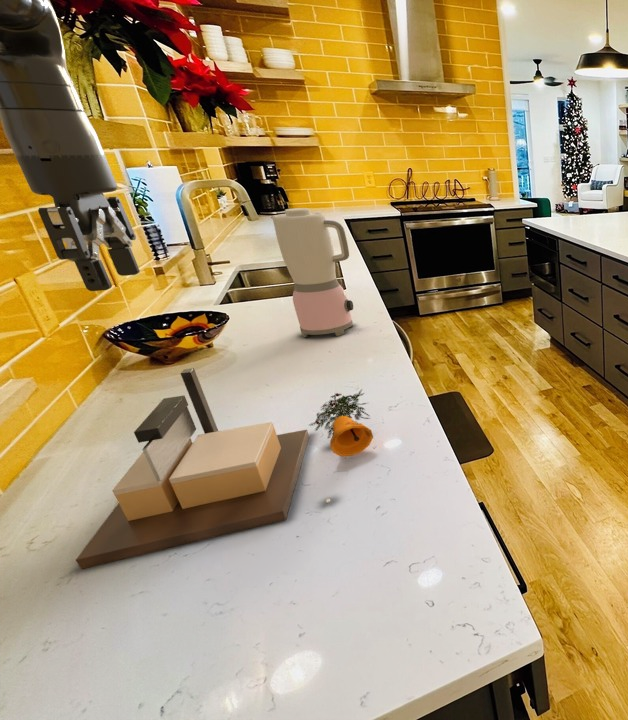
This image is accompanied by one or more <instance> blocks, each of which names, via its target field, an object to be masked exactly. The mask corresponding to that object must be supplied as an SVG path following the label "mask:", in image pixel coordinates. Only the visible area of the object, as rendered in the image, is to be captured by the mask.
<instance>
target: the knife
mask: <svg viewBox="0 0 628 720" xmlns="http://www.w3.org/2000/svg"><path fill="white" fill-rule="evenodd" d="M188 406H189V402H188V401H187V398H186V395H177V396H171V397H164V398H163V399H162V400H161V401H160V402H159V403H158V404H157V405H156V406H155V408H154V409H153V410H152V411H151V412H150V413H149V414H148V416H147V417H146V418H145V419H144V420H143V421H142V423H140V424H139V425H138V427H137V428H136V429H135V430H134V431H133V434H134V436H135V437H136V440H137V442H138V444H140V443H145V442H146V444H145V445H144V446H143V448H142V449H141V450H142V453H143V452H144V454H145V456H146V458H147V461H148V463H149V465H150V467H151V469H152V471H153V473H154V475H155V478H156V480H157V482H158V481H161V480H162V479H163V477H164V476H165V474H166V473H167V472H168V470H169V469H170V467H171V466H172V464H173V463H174V461H175V460H176V458H177V457H178V455H179V454H180V452H181V451H182V449H183V448H184V447H185V445H186V444H187V442H188V441H189V439H190V438H191V439H192V436H193V435H194V434H195V432H196V430H197V426H196V425H195V422H194V419H193V416H192V415H191V412H190V410H189V408H188Z"/></svg>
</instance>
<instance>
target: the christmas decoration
mask: <svg viewBox="0 0 628 720" xmlns="http://www.w3.org/2000/svg"><path fill="white" fill-rule="evenodd" d="M362 391H363V387H362V388H361V389H360V390H359V392H358V393H354V394H353V395H352V394H351V395H350V394H349V395H342V394H341V393H338V392H336V393H334V395H331V396H330V398H332V399H330V400H328V401H326V402H325V403H324V404H322V406H321V408H320V411H322V412H317V413H316V415H315V416H316V419H315V421H314V422H311V423H309V424H308V426H309V427H313V426H315V425H316V427H315V429H314V431H315V432H317V431H318V430H319V429H320V428H321V429H322V427H323V428H324V430H325V431H327V434H328V436H327V440H328V439H330V440H329V445H330V448H331V451H332V453H333V454H335V455H337V456H338V457H352V456H354V455H357V454H361V453H363V452H364V450H366V449H367V448H368V447H369V446H370V445H371V443H372V441H373V439H374V435H373V432H372V429H370V428H369V427H367V426H366V425H364V424H363V423H360V422H357V421H360V420H361V419H363V420H364V419H365V420H368V419H369V420H371V418H370V417H364V415H366V416H369V413H367V412H366V408H364V407H362V406H361V405H363V406H364V405H367V404H369V403H370V402H363V403H359V401H360V398H359V397H361V396H364V394H365V392H362ZM336 397H338V398H337V399H336ZM363 414H364V415H363ZM351 415H352V416H353V417H354V419H355V420H354V419H353V417H352V416H351ZM325 502H326V503H330V502H331V499H330V498H327V499H326V500H325Z"/></svg>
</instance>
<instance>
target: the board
mask: <svg viewBox="0 0 628 720" xmlns="http://www.w3.org/2000/svg"><path fill="white" fill-rule="evenodd" d="M180 376H181V379H182V382H183V383H184V386H185V388H186V391H187V393H188V396H189V398H190V401H191V404H192V406H193V409H194V410H195V414H196V416H197V419H198V420H199V423H200V425H201V428H202V430H203V434H206V433H212V432H217V431H219V429H218V427H217V424H216V421H215V418H214V416H213V413H212V411H211V409H210V406H209V404H208V400H207V397H206V395H205V393H204V391H203V387H202V385H201V382H200V380H199V377H198V375H197V372H196V370H195V368H194V367H192V368H184V369H183V370H182V371H181V372H180ZM309 434H310V433H309V432H308V429H303V430H296V431H292V432H286V433H280V434H277V437H278V440H279V443H280V446H281V449H280V452H279V455H278V458H277V461H276V463H275V466H274V469H273V472H272V474H271V477H270V480H269V483H268V485H267V488H266V491H262V492H258V493H253V494H249V495H244V496H240V497H235V498H231V499H226V500H221V501H217V502H212V503H208V504H203V505H199V506H194V507H190V508H185V509H182V507H181V505H180V502H178V503H177V505H176V507H175V508H174V510H173V511H172V512H167V513H162V514H158V515H153V516H149V517H144V518H140V519H135V520H131V521H128V520H127V518H126V516H125V514H124V512H123V510H122V508H121V507H120V505H119V503H117V504H116V506H115V507H114V508H113V510H112V511H110V514H109V515H108V516H107V518H106V519H105V520H104V521H103V523H102V524H101V525H100V527H99V528H98V529H97V531H96V532H95V533H94V535H93V536H92V537H91V538H90V540H89V541H88V543H87V544H86V546H85V547H83V549H82V551H81V552H80V553H79V554H78V556H76V558H75V562H76V564H77V565H78V566H79V569H80V570H83V569H87V568H91V567H96V566H100V565H105V564H107V563H112V562H116V561H120V560H124V559H129V558H132V557H136V556H137V557H138V556H140V555H145V554H149V553H153V552H158V551H161V550H166V549H170V548H174V547H179V546H183V545H187V544H190V543H195V542H199V541H203V540H207V539H211V538H215V537H219V536H224V535H229V534H232V533H237V532H241V531H244V530H248V529H249V530H250V529H253V528H258V527H261V526H265V525H269V524H274V523H278V522H281V521H286V520H287V517H288V513H289V510H290V506H291V503H292V500H293V496H294V492H295V489H296V486H297V485H296V484H297V482H298V477H299V475H300V470H301V467H302V464H303V460H304V456H305V453H306V450H307V446H308V442H309V439H310V435H309Z"/></svg>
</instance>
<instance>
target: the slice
mask: <svg viewBox="0 0 628 720" xmlns="http://www.w3.org/2000/svg"><path fill="white" fill-rule="evenodd" d="M192 444H193V441H192V437H191V438H190V439H189V441H188V442H187V444H186V445H185V447H184V448H183V449H182V451H181V452H180V454H179V455H178V457H177V458H176V460H175V461H174V463H173V464H172V466H171V467H170V469H169V470H168V472H167V473H166V474H165V476H164V477H163V479H162V480H161V481H158V482H157V480H156V478H155V475H154V473H153V471H152V469H151V467H150V465H149V463H148V461H147V458H146V456H145V454H144V452H143V451H142V452H141V454H140V455H139V456H138V458H137V459H136V460H135V461H134V463H132V465H131V466H130V467H129V468H128V470H127V471H126V472H125V474H124V475H123V476H122V478H121V479H120V480H119V482H117V484H116V485H115V486H114V488H113V489H112V490H111V491H112V493H113V495H114V497H115V499H116V501H117V502H118V503H119V505H120V507H121V508H122V510H123V512H124V514H125V516H126V518H127V520H128V521H131V520H135V519H140V518H144V517H149V516H153V515H158V514H162V513H167V512H172V511H173V510H174V508H175V507H176V505H177V503H178V502H179V500H178V498H177V496H176V494H175V491H174V489H173V487H172V485H171V483H170V481H169V478H170V477H171V475H172V474H173V472H174V471H175V469H176V468H177V466H178V465H179V463H180V462H181V460H182V459H183V457H184V456H185V454H186V453H187V451H188V450H189V448H190V447H191V445H192ZM118 503H117V504H118Z"/></svg>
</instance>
